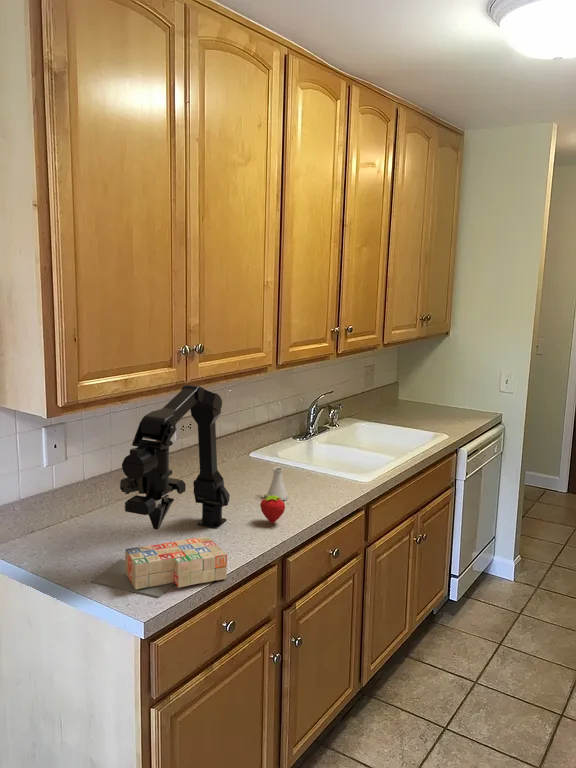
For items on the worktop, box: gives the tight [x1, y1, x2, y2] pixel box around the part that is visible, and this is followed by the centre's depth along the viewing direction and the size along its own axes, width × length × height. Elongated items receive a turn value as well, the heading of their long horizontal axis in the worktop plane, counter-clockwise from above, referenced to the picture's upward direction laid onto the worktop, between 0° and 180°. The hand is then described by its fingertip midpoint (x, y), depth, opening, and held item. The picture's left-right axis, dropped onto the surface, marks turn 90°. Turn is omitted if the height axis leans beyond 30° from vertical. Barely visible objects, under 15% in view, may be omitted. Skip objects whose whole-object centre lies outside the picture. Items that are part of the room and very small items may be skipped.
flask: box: [265, 466, 289, 502], centre depth 208 cm, size 7×7×10 cm
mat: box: [90, 558, 176, 599], centre depth 153 cm, size 12×18×1 cm, turn 70°
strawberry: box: [259, 492, 286, 524], centre depth 187 cm, size 6×8×10 cm
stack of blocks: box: [124, 536, 228, 589], centre depth 153 cm, size 21×6×12 cm
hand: (156, 528), depth 157 cm, fingers closed
